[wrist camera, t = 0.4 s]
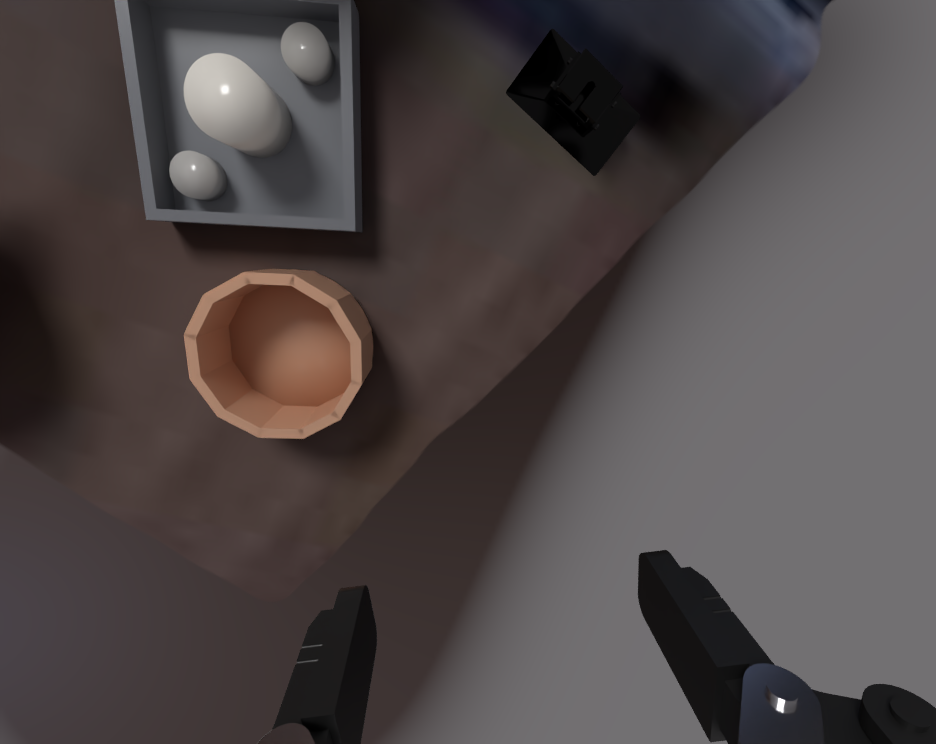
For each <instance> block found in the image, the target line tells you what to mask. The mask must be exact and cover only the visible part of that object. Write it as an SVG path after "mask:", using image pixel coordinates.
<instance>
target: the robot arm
mask: <svg viewBox="0 0 936 744" xmlns="http://www.w3.org/2000/svg"><path fill="white" fill-rule="evenodd" d="M638 572H639V573H638V575H639V576H638V599H639V604H640V608H641V611H642V614H643V616H644V618H645V621H646V622H647V624H648V626H649V628H650V630H651V632H652V634H653V636H654V637H655V639H656V641H657V643H658V645H659V647H660V649H661V651H662V653H663V654H664V656H665V658H666V660H667V662H668V664H669V666H670V668H671V669H672V671H673V673H674V675H675V677H676V679H677V681H678V683H679V685H680V686H681V688H682V690H683V692H684V694H685V696H686V698H687V699H688V701H689V703H690V705H691V707H692V709H693V711H694V713H695V715H696V716H697V718H698V720H699V722H700V724H701V726H702V728H703V730H704V731H705V733H706V735H707V737H708V739H709V741H710V742H716V741H724V740H726V741H727V742H728V744H936V708H935V707H933V706H932V705H931V704H929V703H928V702H927V701H925V700H924V699H922V698H920V697H919V696H916V695H915V694H913V693H911V692H909V691H907V690H904V689H902V688H899V687H895V686H892V685H886V684H874V685H871V686H868V687H867V688H866V689H865V690H864V692H863V696H862V699H861V700H859V699H854V698H849V697H843V696H838V695H832V694H827V693H823V692H819V691H815V690H812V689H811V688H810V687H809V686H808V685H807V684H806V683H805V682H804V681H803V680H802V679H800V678H799V677H798V676H797V675H795V674H793V673H792V672H790V671H788V670H786V669H784V668H782V667H779V666H776V665H774V663H773V662H772V661H771V660H770V659H769V657H768V656H767V655H766V653H765V652H764V651H763V650H762V648H761V647H760V646H759V645H758V643H757V642H756V641H755V639H754V638H753V637H752V636H751V634H750V633H749V632H748V630H747V629H746V628H745V627H744V625H743V624H742V623H741V622H740V620H739V619H738V618H737V616H736V615H735V614H734V613H733V612H731V610H730V607H729V606H728V605H727V603H726V602H725V601H724V600H723V598H722V599H721V597H720V595H719V593H718V592H717V591H716V589H715V588H714V587H713V586H712V584H711V583H710V582H709V580H708V579H706V578H705V577H704V576H702V575H701V574H699V573H698V572H697V571H695V570H694V569H692V568H691V567H685V568H681V567H680V566H679V565H678V563H677V562H676V561H675V559H674V558H673V556H672V555H671V554H670V553H669V552H668V551H667V550H662V551H654V552H646V553H641V554H640V555H639V571H638ZM376 646H377V630H376V623H375V618H374V613H373V608H372V604H371V599H370V594H369V590H368V587H367V586H366V585H365V586H356V587H347V588H341V589H340V590H339V592H338V595H337V599H336V602H335V605H334V608H333V609H331V610H324V611H321V612H320V613H319V614H318V616H317V617H316V619H315V620H314V621H313V622H312V623H311V625H310V626H309V627H308V630H307V633H306V636H305V639H304V642H303V644H302V649H301V650H300V653H299V656H298V659H297V664H296V665H295V667H294V670H293V673H292V676H291V679H290V682H289V684H288V687H287V690H286V693H285V696H284V699H283V702H282V704H281V707H280V710H279V713H278V716H277V719H276V721H275V724H274V727H273V729H272V730H271V731H270V732H268V733H267V734H266V735H265V736H264V737H263V738H262V739H261V740H260V741H259V742H258V743H257V744H361V738H362V733H363V726H364V720H365V714H366V708H367V702H368V696H369V690H370V684H371V678H372V672H373V666H374V660H375V654H376Z"/></svg>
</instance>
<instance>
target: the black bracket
mask: <svg viewBox="0 0 936 744" xmlns="http://www.w3.org/2000/svg"><path fill="white" fill-rule="evenodd" d="M622 88H623V85H622V84H621V83H620V82H619V81H618V80H617V79H616V78H615V77H614V76H613V75H612V74H611V73H610V72H609V71H608V70H607V69H606V68H605V67H604V66H603V65H602V64H601V63H600V62H599V61H598V60H597V59H596V58H595V57H594V56H593V55H592V54H591V53H590V52H589V51H588V50H587V49H585V50H584V51H583V52H582V54H581V53H580V52H579V51H578V53H577V52H576V51H575V50H574V49H573V48H572V47H571V46H570V45H569V44H568V43H567V42H566V41H565V40H564V39H563V38H562V37H561V36H560V35H559V34H558V33H557V32H556V31H555V30H554V29H551V30H550V31H549V33H548V34H547V36H546V37H545V38H544V40H543V41H542V43H541V44H540V45H539V47H538V48H537V49H536V51H535V52H534V54H533V55H532V56H531V58H530V59H529V61H528V62H527V63H526V65H525V66H524V67H523V69H522V70H521V72H520V73H519V74H518V76H517V77H516V79H515V80H514V81H513V83H512V84H511V85H510V87H509V88H508V90H507V91H506V94H507V95H508V96H509V97H510V98H511V99H512V100H513V101H514V102H515V103H516V104H517V105H519V106H520V107H521V108H522V109H523V110H524V111H525V112H526V113H527V114H528V115H529V116H530V117H531V118H532V119H533V120H535V121H536V122H537V123H538V124H539V125H540V126H541V127H542V128H543V129H544V130H545V131H546V132H547V133H548V134H549V135H551V136H552V137H553V138H554V139H555V140H556V141H557V142H558V143H559V144H560V145H561V146H562V147H563V148H564V149H566V150H567V151H568V152H569V153H570V154H571V155H572V156H573V157H574V158H575V159H576V160H577V161H578V162H579V163H580V164H582V165H583V166H584V167H585V168H586V169H587V170H588V171H589V172H590V173H591V174H592V175H593V176H595V175H597V173H598V172H599V171H600V169H601V168H602V167H603V166H604V164H605V163H606V162H607V160H608V159H609V158H610V156H611V155H612V154H613V152H614V151H615V150H616V149H617V147H618V146H619V145H620V143H621V142H622V141H623V139H624V138H625V137H626V136H627V134H628V133H629V132H630V130H631V129H632V128H633V126H634V125H635V124H636V123H637V121H638V120H639V119H640V115H639V113H638V112H636V111H635V110H634V109H633V108H632V107H631V106H630V105H629V104H628V103H627V102H626V101H625V100H624V99H623V98H622V97H621V96H620V94H621V93H620V90H621V89H622Z"/></svg>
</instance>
